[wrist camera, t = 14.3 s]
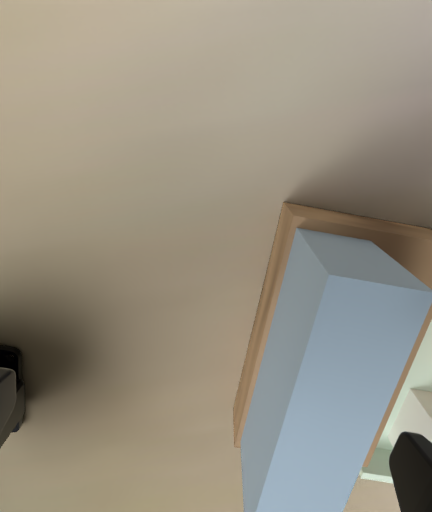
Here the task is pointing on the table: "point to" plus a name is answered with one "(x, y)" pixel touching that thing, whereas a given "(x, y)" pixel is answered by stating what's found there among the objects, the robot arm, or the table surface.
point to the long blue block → (327, 372)
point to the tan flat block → (292, 216)
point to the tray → (420, 378)
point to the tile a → (414, 416)
